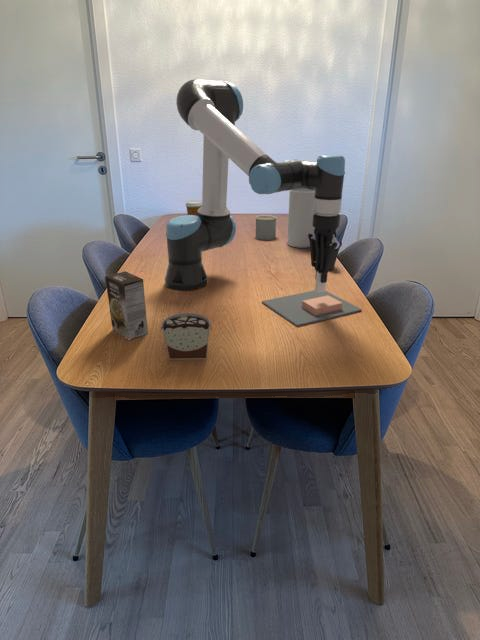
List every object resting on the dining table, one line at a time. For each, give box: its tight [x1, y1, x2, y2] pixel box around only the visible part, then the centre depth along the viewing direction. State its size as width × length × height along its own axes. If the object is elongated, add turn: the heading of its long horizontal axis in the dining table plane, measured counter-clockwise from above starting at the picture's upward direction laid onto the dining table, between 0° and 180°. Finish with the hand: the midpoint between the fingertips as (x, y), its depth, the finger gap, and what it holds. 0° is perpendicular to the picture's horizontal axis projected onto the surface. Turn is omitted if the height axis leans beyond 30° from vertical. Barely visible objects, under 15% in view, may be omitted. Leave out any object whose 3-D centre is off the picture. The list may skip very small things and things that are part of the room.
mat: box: [261, 289, 363, 328], centre depth 136 cm, size 24×20×1 cm
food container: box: [160, 312, 213, 361], centre depth 108 cm, size 12×6×10 cm, turn 92°
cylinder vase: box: [286, 189, 315, 249], centre depth 199 cm, size 12×12×25 cm
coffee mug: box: [255, 214, 277, 241], centre depth 216 cm, size 13×10×10 cm
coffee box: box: [104, 270, 149, 340], centre depth 117 cm, size 9×6×16 cm
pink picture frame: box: [302, 295, 342, 316], centre depth 133 cm, size 10×2×7 cm
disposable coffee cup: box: [185, 200, 202, 216], centre depth 242 cm, size 10×10×12 cm
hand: (319, 291), depth 132 cm, fingers closed
